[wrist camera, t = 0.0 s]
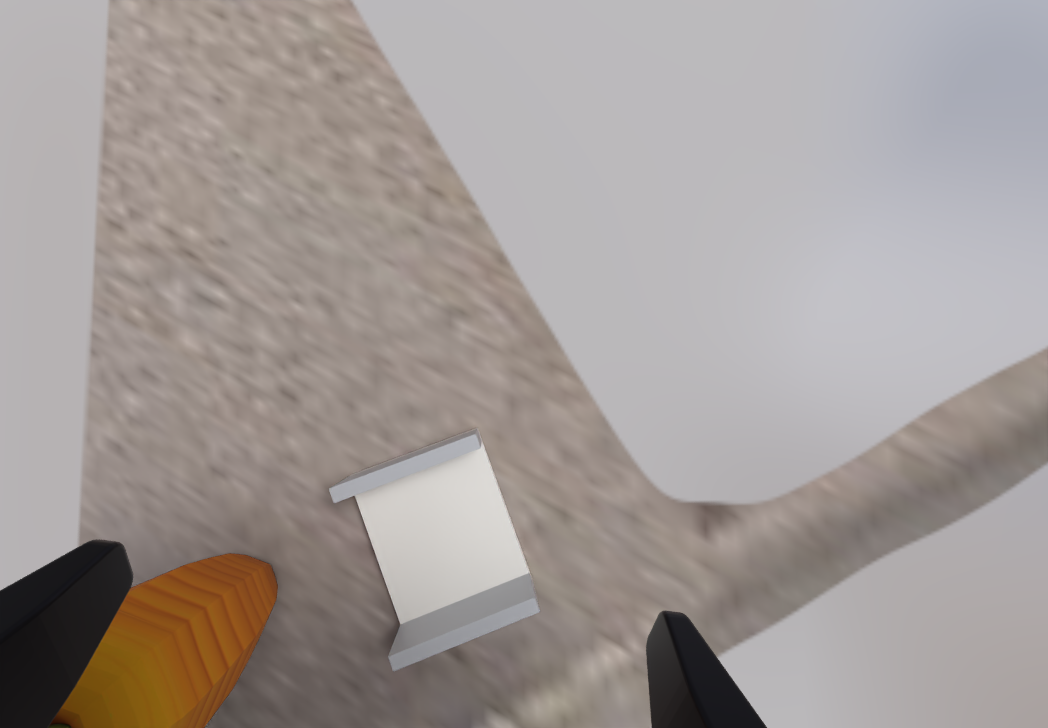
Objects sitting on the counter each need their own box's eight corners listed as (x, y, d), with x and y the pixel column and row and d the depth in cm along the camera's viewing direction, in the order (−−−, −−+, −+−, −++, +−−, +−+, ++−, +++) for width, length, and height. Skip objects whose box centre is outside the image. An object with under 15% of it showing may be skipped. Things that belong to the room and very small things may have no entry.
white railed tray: (532, 578, 23) (540, 611, 20) (407, 628, 23) (393, 671, 19) (477, 427, 24) (475, 433, 20) (352, 473, 23) (328, 488, 20)
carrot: (320, 626, 23) (-4, 1082, 8) (205, 630, 22) (-369, 1115, 7) (323, 513, 23) (12, 744, 8) (208, 515, 23) (-339, 759, 8)
